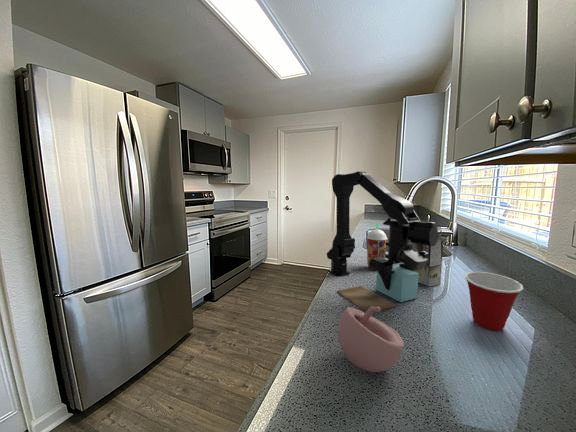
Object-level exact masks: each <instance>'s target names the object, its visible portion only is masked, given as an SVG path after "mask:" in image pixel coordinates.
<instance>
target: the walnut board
mask: <svg viewBox="0 0 576 432" xmlns="http://www.w3.org/2000/svg"><path fill="white" fill-rule="evenodd" d="M336 293H338V294H339V295H340V296H342V297H344V298H345V299H346V300H348V301H349V302H350V303H352V304H354V305H355V306H357V307H358V308H360V309H362V310H363V312H365V313H366V312H367V310H368V309H369V308H370V307H371V306H373V307H380V308H381V310H380V312H383V311H386V310H391V309H393V308H397V304H396V303H393V302H391V301H390V300H388V299H386V298H385V297H383V296H380V295H379V294H377V293H375V292H373V291H372V290H369V289H367V288H365V287H363V286H362V285H358V286H353V287H350V288H344V289H343V288H342V289H340V290H339V289H338V290H336Z"/></svg>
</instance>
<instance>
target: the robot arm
mask: <svg viewBox="0 0 576 432" xmlns="http://www.w3.org/2000/svg"><path fill="white" fill-rule="evenodd" d="M358 185H359V186H360V187H361V188H363V189H364V190H365V191H366V192H367V193H369V194H370V195H371V196H372V197H373V198H374V199H376V201H378V202H379V203H380V205H381V207H382V210H383V211H384V212H385V214H386V215H387V216H388V218H387V219H386V220H384V222H382V225H384V226H389V227H388V241H387V242H386V245H387V247H388V249H387V254H386V255H385V259H383V258H380V257H379V258H372V259H371V260H369V266H368V268H369V267H370V268H373V269H375V270H374V271H376V270H377V271H378V273H379V275H380V277H381V279H382V281H383V283H384V286H385V288H386V289H387V290H389V289H390V283H391V275H392V274H393V273H395V271H392V269H393V265H397V266H400V267H403V268H405V269H408V270H411V271H416V270H418V269H423V267H424V265H425V264H428V263H429V261H428V260H429V254H428V253H427V252H425V251H422V252H419V253H418V252H414V251H413V250H412V245H411V244H410V243H409V241H411V242H412V243H416V244H422V245H427V246H435V245H436V243H437V241H438V240H439V235H440V234H439V231H438V228H437V226H436V224H437V223H436V222H435V221H422V220H421V219H420V217H419V216H418V214H417V213H416V211H415V209H414V204H413V203H412V202H411V201H409V200H408V199H405V198H404V197H402V196H399V195H396V194H394V193H393V192H391V191H390V190H388V189H387V188H386V187H385V186H383V185H382V184H381V183H379V182H378V181H377V180H375V178H373V177H372V176H371V175H370V174H369V173H368V172H367V171H356V172H352V173H346V174H344V173H343V174H342V173H341V174H339V173H337V174H335V175H334V176H333V177H332V179H331V187H332V192H333V194H334V195H335V199H336V234H335V236H334V238H333V240H332V245H331V248H330V249H329V250H328V251H327V252H326V257H327V259H328V260H330V269H327V272H329V273H331V274H332V275H334V276H336V277H340V276H346V275H350V272H349V271H348V263H347V262H348V259H349V258H351V256H352V254H353V253H354V250H355V249H356V238H354V237H352V235H351V234H350V204H351V203H350V198H351V195H352V193H353V192H354V189H355V186H358ZM330 270H331V271H330ZM377 271H376V272H377Z"/></svg>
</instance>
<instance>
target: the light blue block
mask: <svg viewBox="0 0 576 432" xmlns="http://www.w3.org/2000/svg"><path fill="white" fill-rule="evenodd" d="M392 271H395V273H393V274H392V275H391V283H390V289H389V290H387V289H386V288H385V286H384V283H383V281H382V279H381V277H380V275H379V273H378V271H376V281H375V282H376V283H375V284H376V285H375V290H376V291H378V292H380V293H382V294H384V295H386V296H388V297H390V298H391V299H393V300H396V301H398V302H400V303H404V302H408V301H411V300H414V299H418V290H419V289H418V288H419V282H418V277H419V273H417V272H414V271H411V270H408V269H405V268H403V267H400V266H399V265H393V269H392Z"/></svg>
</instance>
